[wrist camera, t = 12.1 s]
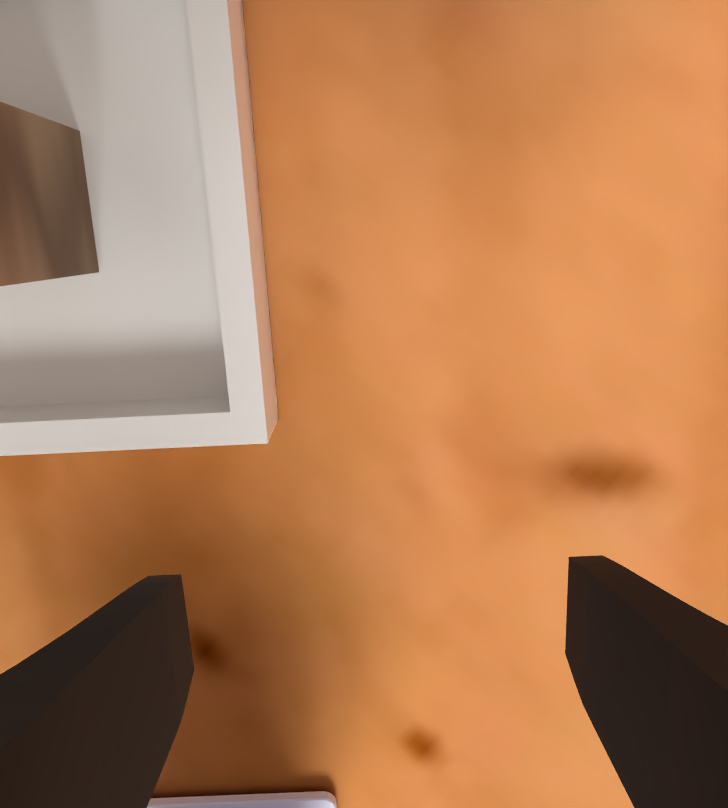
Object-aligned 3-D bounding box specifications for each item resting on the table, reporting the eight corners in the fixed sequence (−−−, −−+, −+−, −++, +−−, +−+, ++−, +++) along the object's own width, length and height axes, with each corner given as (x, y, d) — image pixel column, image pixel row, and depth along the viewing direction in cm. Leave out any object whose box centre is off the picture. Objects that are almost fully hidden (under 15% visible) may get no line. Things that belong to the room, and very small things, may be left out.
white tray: (278, 419, 21) (267, 443, 19) (-141, 439, 21) (-205, 465, 19) (236, -69, 17) (215, -118, 15) (-268, -42, 18) (-367, -85, 15)
